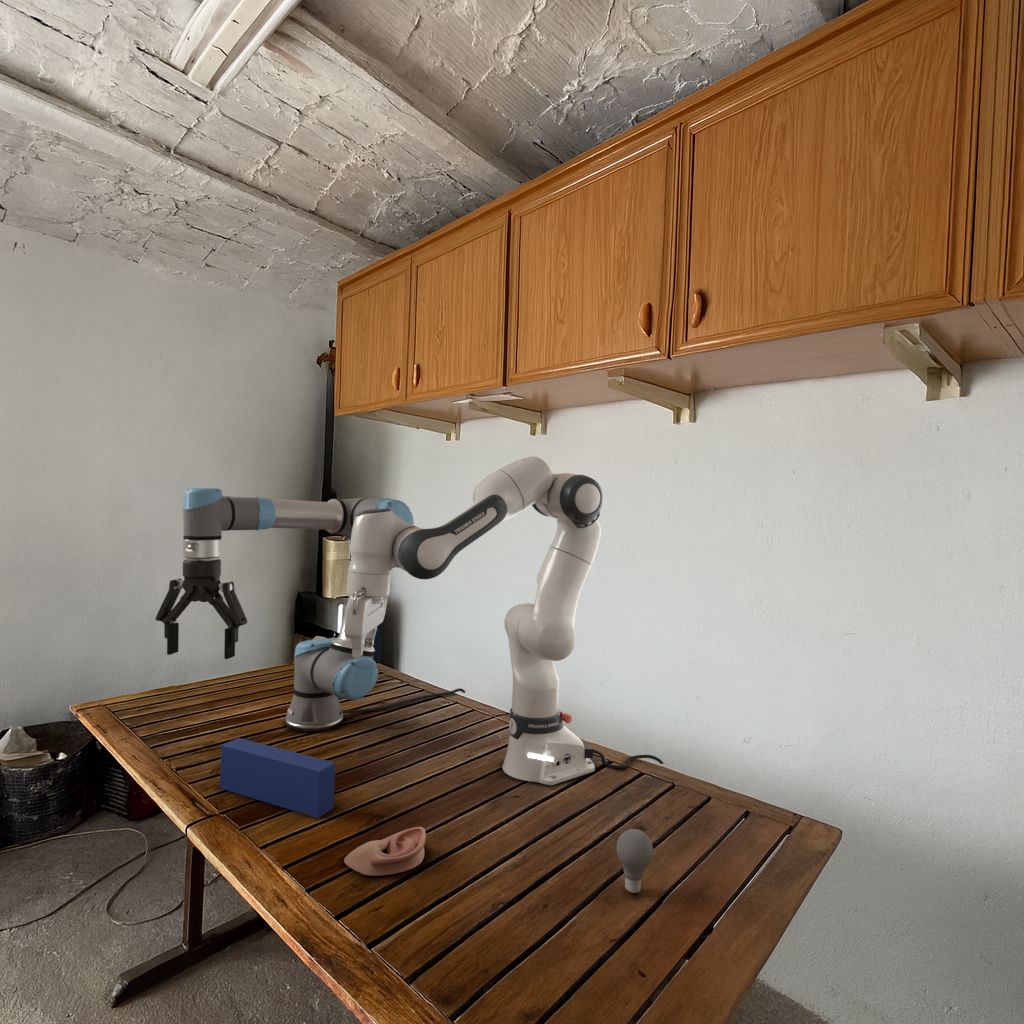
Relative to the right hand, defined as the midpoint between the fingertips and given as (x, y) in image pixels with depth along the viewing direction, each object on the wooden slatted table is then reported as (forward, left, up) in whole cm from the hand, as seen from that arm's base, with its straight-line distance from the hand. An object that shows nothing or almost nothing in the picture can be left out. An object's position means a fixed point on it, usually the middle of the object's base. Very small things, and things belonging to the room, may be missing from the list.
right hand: (363, 651), depth 132 cm
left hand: (+30, -23, -4) cm, 38 cm away
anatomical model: (+1, +23, -32) cm, 39 cm away
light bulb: (-34, +48, -32) cm, 67 cm away
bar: (+15, -8, -32) cm, 36 cm away
